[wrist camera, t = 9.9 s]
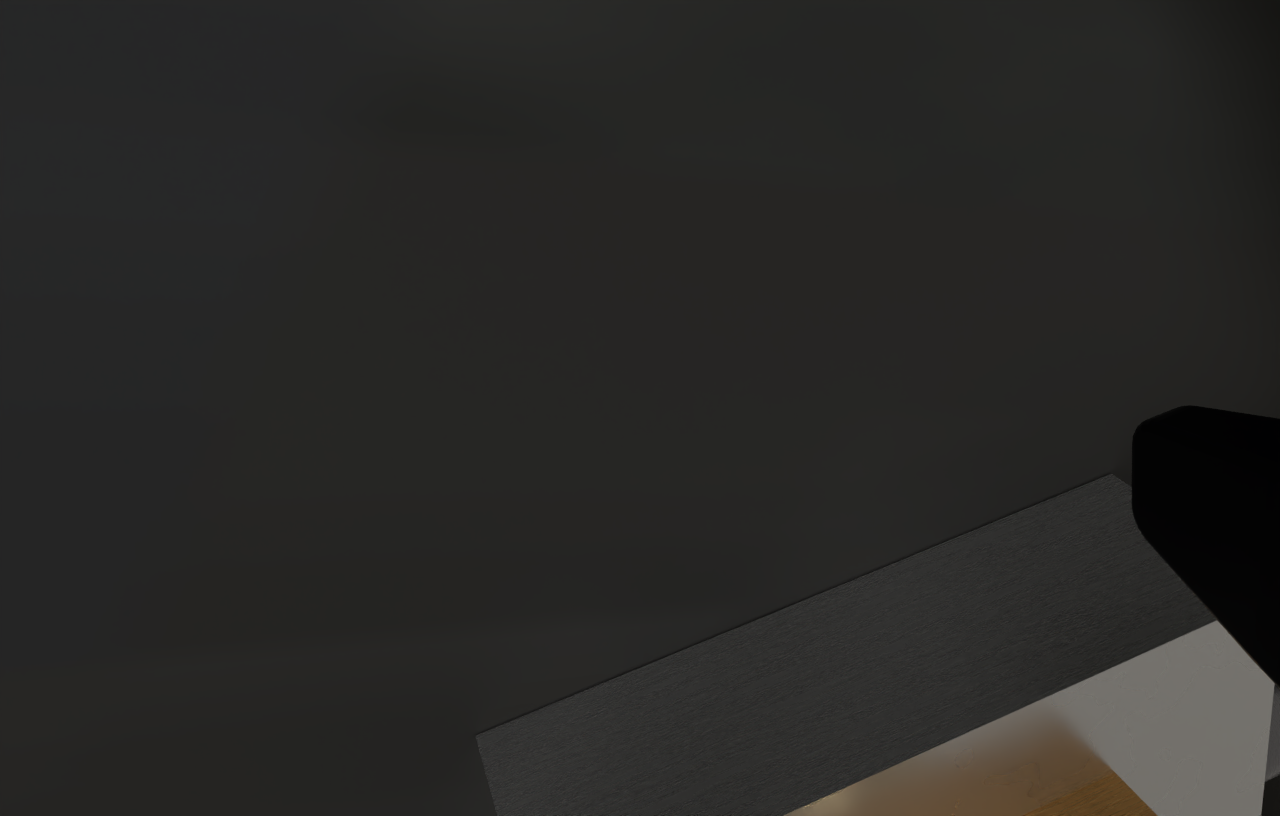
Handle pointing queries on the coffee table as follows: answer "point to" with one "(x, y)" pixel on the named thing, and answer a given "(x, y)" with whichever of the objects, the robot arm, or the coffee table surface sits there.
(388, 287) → the coffee table surface
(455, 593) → the coffee table surface
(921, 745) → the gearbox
